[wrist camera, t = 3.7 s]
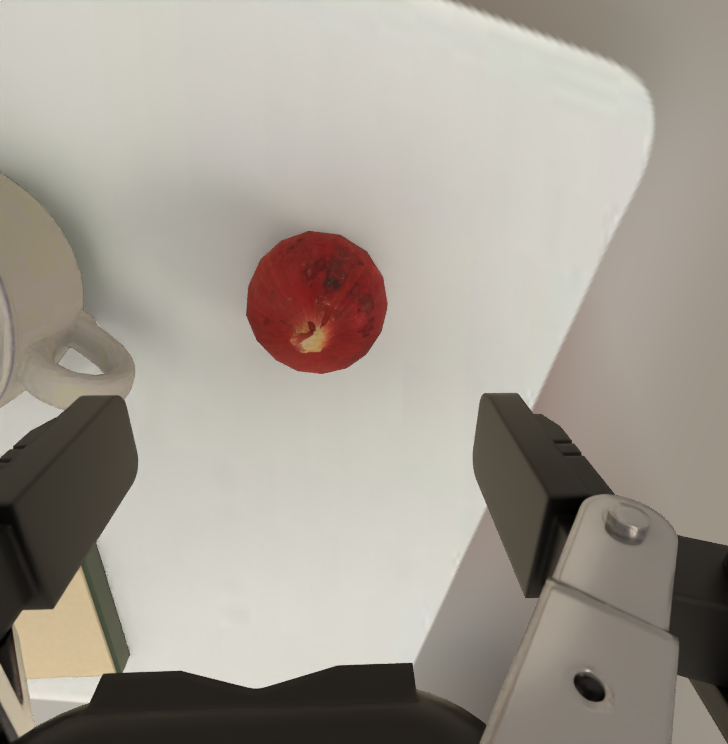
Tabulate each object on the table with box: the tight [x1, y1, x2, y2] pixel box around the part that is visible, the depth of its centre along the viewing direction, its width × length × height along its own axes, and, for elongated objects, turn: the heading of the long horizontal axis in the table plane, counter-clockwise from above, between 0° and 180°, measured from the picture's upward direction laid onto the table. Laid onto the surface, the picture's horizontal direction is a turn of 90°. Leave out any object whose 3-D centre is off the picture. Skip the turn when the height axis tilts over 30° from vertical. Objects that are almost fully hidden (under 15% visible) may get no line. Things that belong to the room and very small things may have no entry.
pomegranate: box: [246, 231, 387, 374], centre depth 19 cm, size 6×6×8 cm
